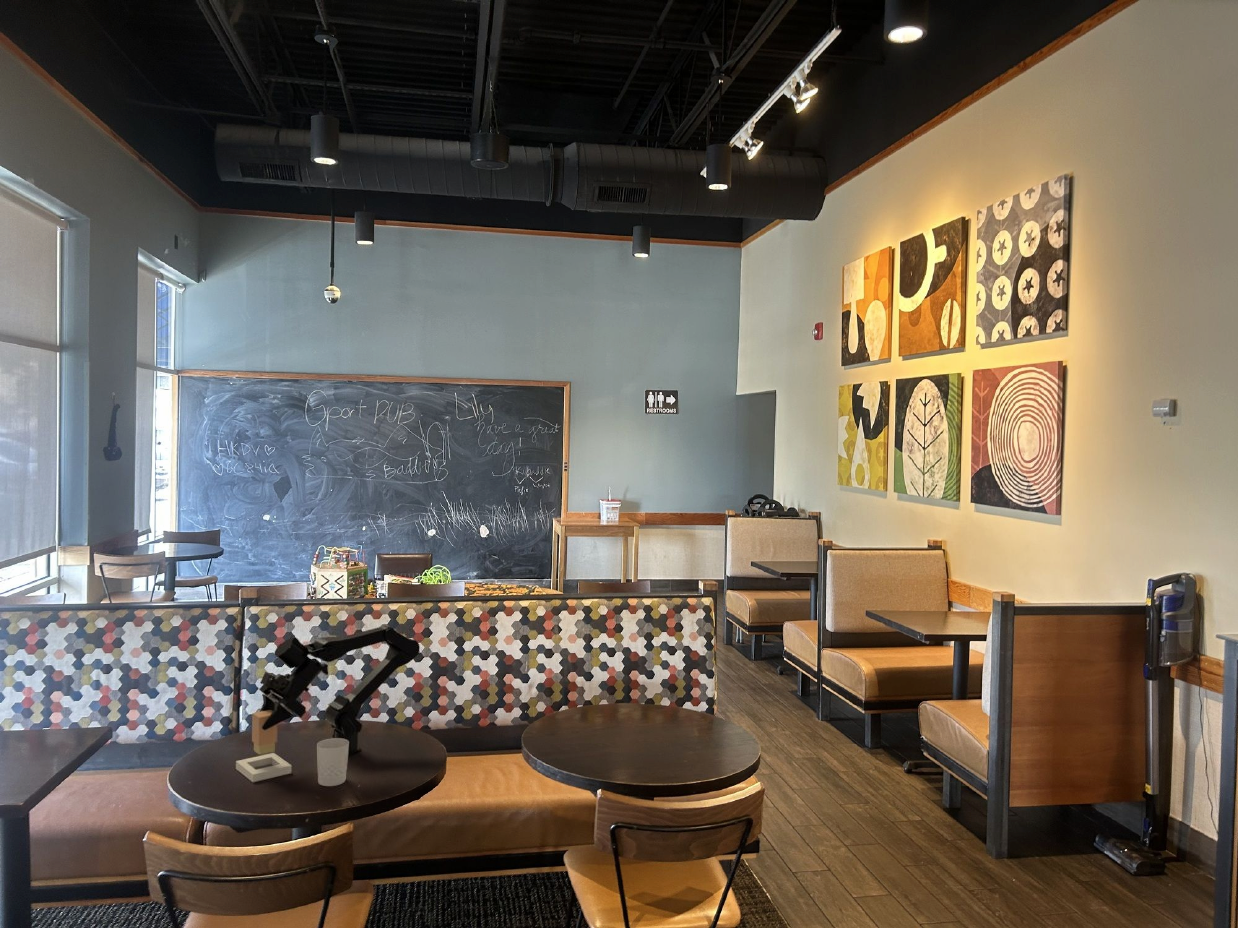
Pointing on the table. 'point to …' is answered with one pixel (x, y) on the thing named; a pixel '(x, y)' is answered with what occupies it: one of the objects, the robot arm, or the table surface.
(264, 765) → the socket
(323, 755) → the white cup
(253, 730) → the plug
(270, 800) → the table surface
